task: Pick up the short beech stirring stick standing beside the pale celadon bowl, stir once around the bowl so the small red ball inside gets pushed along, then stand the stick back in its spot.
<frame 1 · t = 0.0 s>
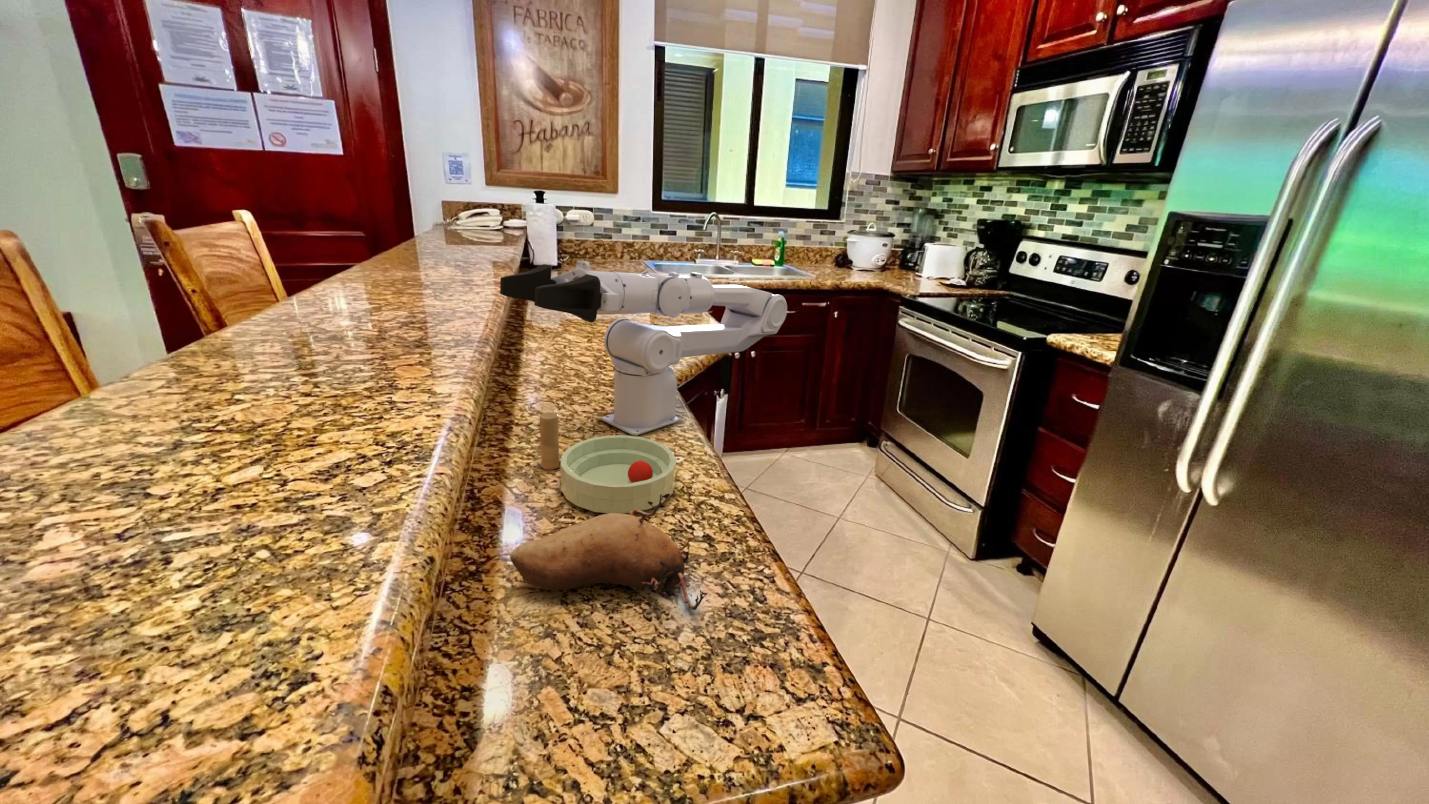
hand: (518, 291, 64), 22 cm above the table, tool horizontal, fingers open, 7 cm apart
bowl: (618, 487, 66), on the table
stick: (550, 465, 70), on the table
ball: (640, 473, 66), point 2 cm above the table, touching bowl
vegetable: (604, 597, 49), on the table
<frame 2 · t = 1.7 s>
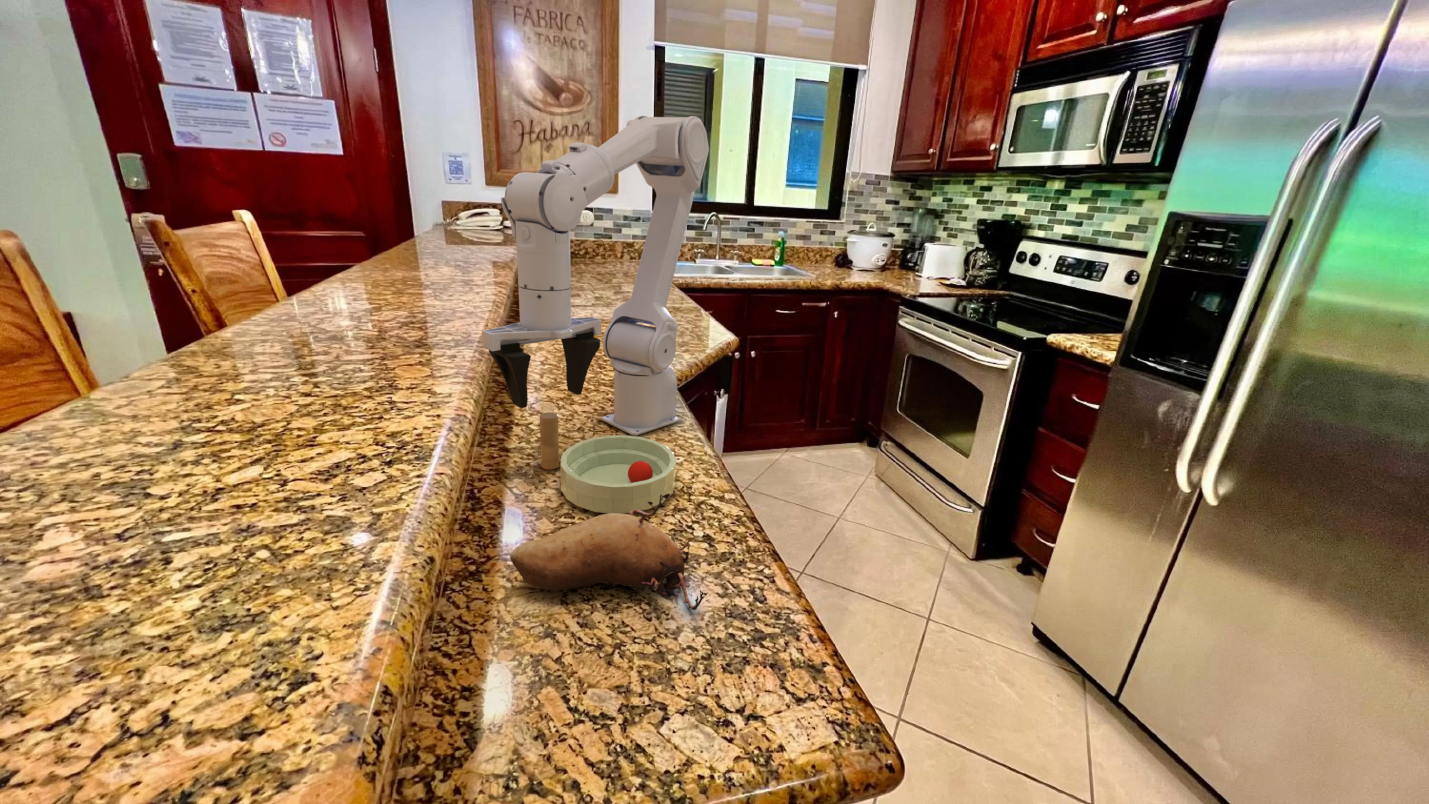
hand: (548, 398, 67), 9 cm above the table, tool pointing down, fingers open, 7 cm apart
nothing on the table moved.
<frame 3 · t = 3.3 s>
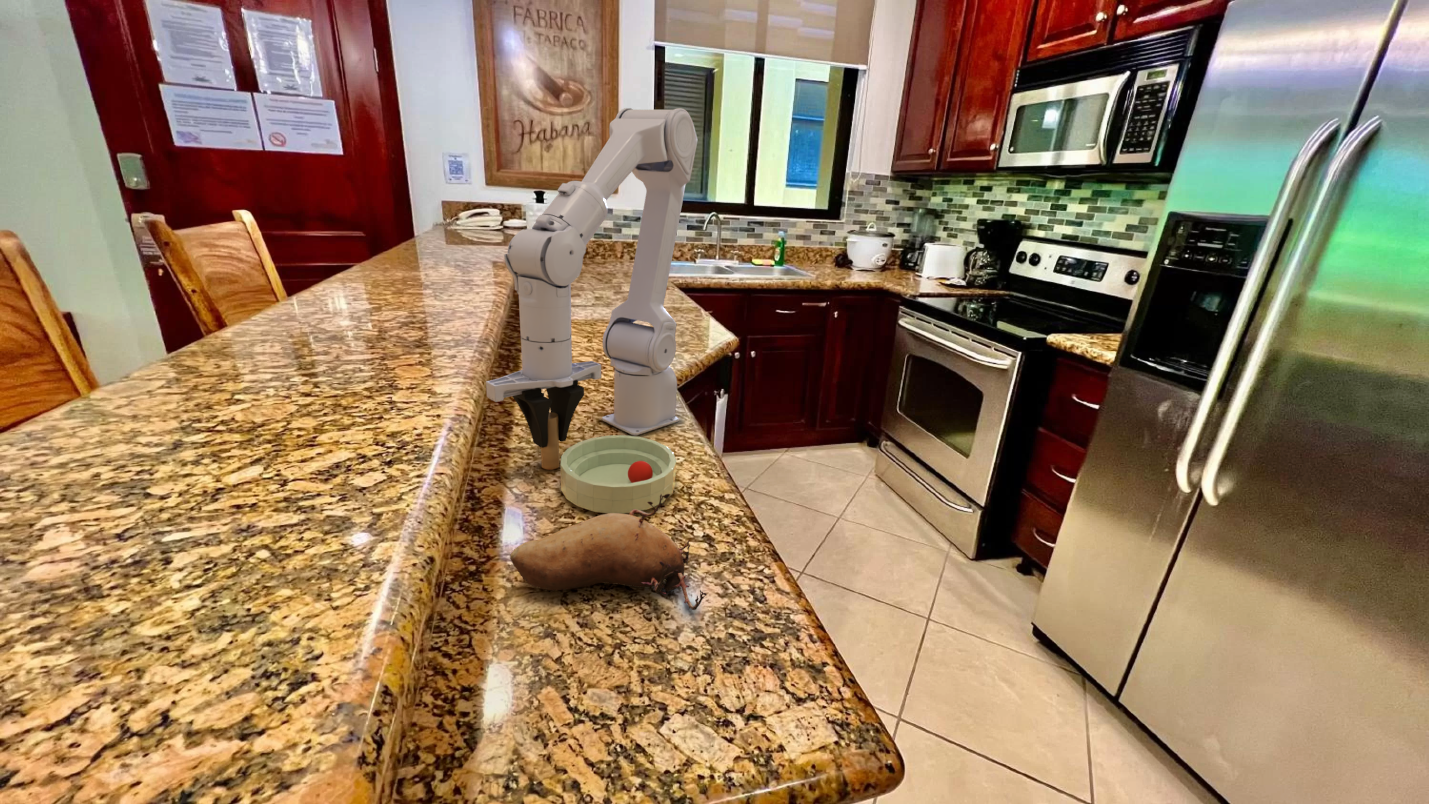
hand: (549, 441, 69), 3 cm above the table, tool pointing down, fingers closed on stick, 2 cm apart
stick: (550, 465, 70), on the table, touching gripper
everything else where it was.
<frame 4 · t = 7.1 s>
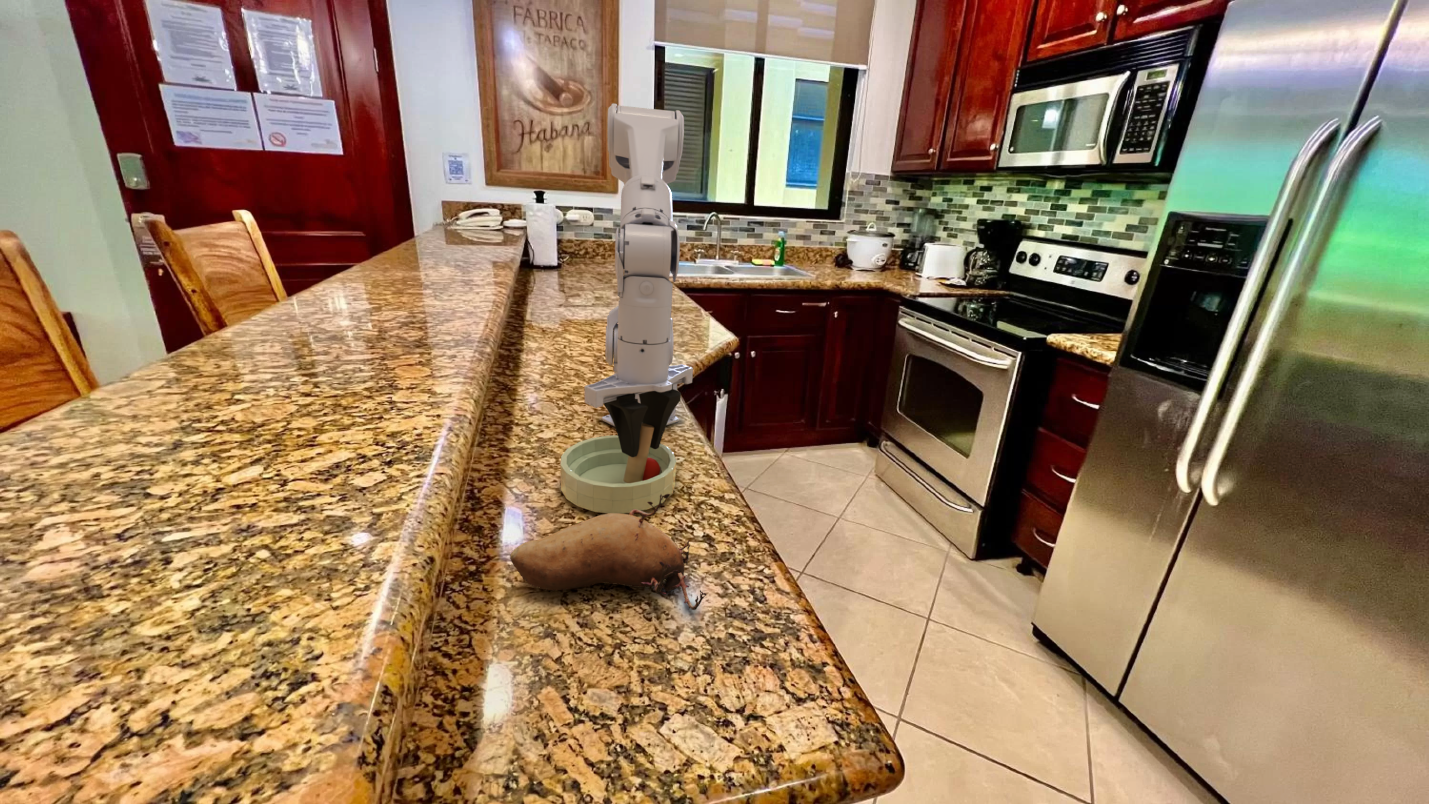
hand: (640, 449, 65), 5 cm above the table, tool pointing down, fingers closed on stick, 3 cm apart
stick: (632, 482, 65), point 2 cm above the table, tilted 18°, touching ball, gripper
ball: (647, 469, 67), point 2 cm above the table, tilted 47°, touching bowl, stick
everything else where it was.
when the fingers open (4 cm above the table, at t = 12.1 s): stick stays where it is, on the table.
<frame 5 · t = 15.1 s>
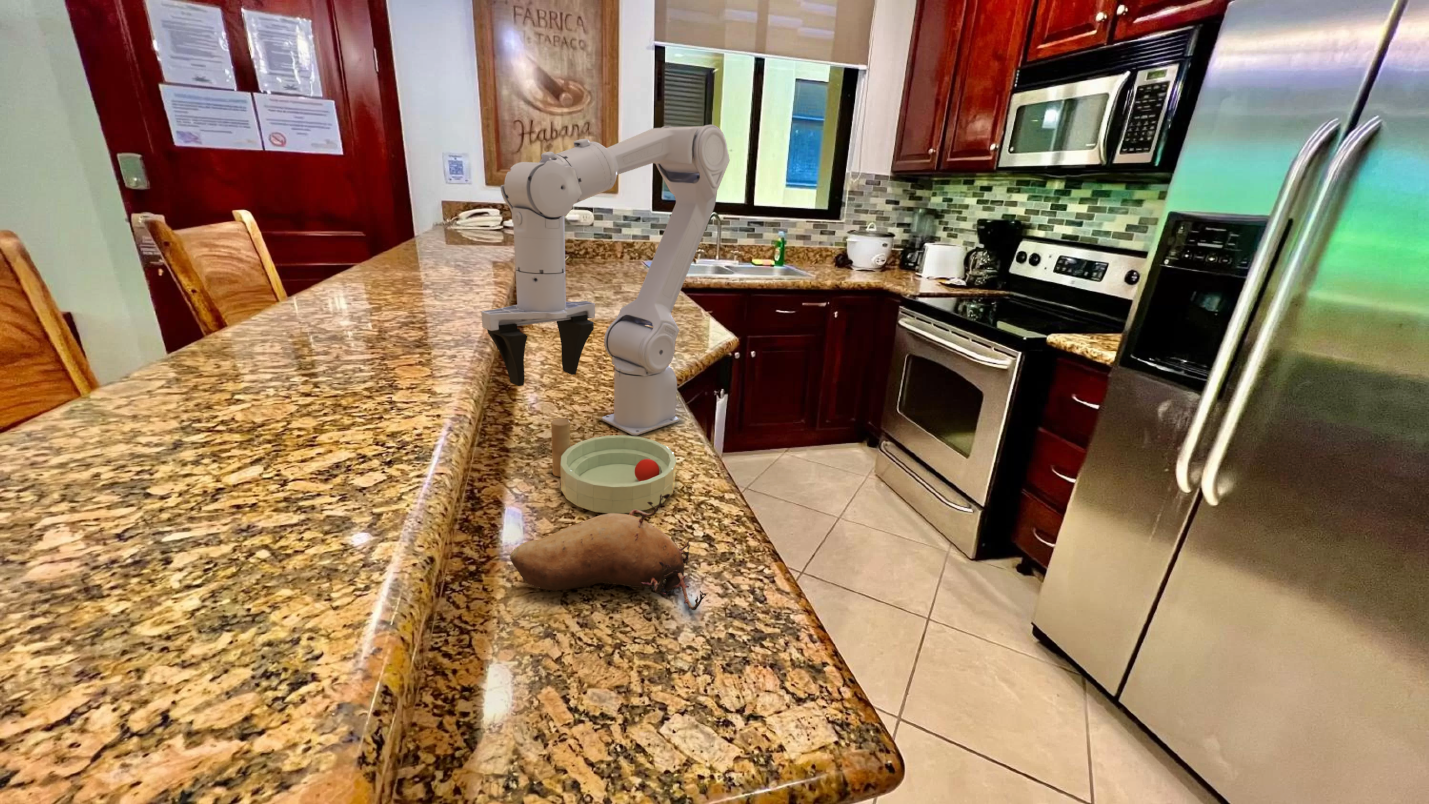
hand: (544, 378, 71), 10 cm above the table, tool pointing down, fingers open, 7 cm apart
stick: (561, 472, 69), on the table
ball: (647, 471, 67), point 2 cm above the table, tilted 47°, touching bowl
everything else where it was.
at the end: ball moved 1.1 cm from its start; ball inside the target area in the bowl (3.5 cm from its centre), point 2.1 cm above the bowl's base; stick 2.5 cm from the target spot, on the table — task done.
